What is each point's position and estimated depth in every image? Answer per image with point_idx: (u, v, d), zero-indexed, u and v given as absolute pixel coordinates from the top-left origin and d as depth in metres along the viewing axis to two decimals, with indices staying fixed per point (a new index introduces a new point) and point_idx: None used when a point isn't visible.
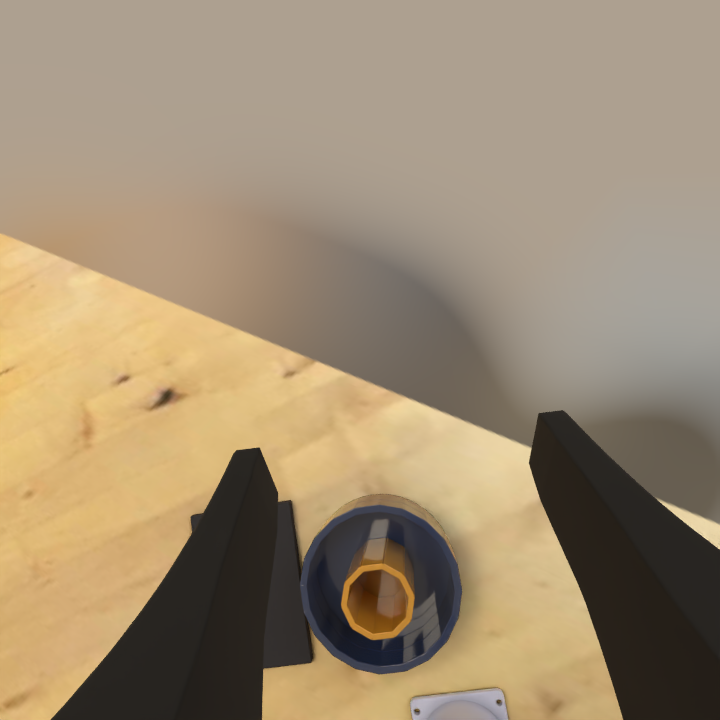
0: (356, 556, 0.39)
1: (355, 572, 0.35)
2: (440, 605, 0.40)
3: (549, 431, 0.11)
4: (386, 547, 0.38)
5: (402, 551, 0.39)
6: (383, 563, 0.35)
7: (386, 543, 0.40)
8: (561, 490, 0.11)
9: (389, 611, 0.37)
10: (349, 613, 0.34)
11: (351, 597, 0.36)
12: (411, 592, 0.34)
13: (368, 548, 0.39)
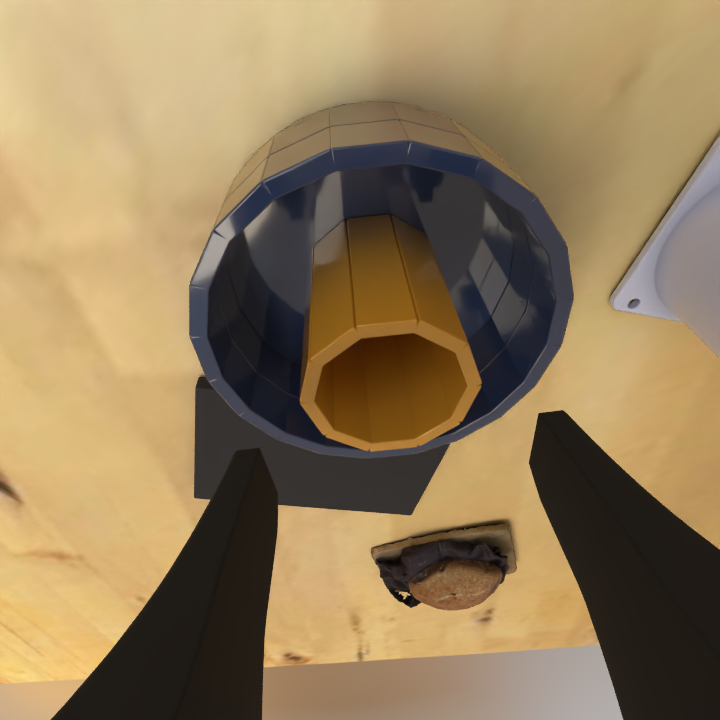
0: None
1: (309, 414, 0.14)
2: None
3: (549, 431, 0.11)
4: (313, 282, 0.16)
5: (343, 240, 0.16)
6: (310, 357, 0.13)
7: (313, 268, 0.17)
8: (561, 490, 0.11)
9: None
10: (389, 443, 0.15)
11: (373, 399, 0.17)
12: (405, 323, 0.12)
13: None
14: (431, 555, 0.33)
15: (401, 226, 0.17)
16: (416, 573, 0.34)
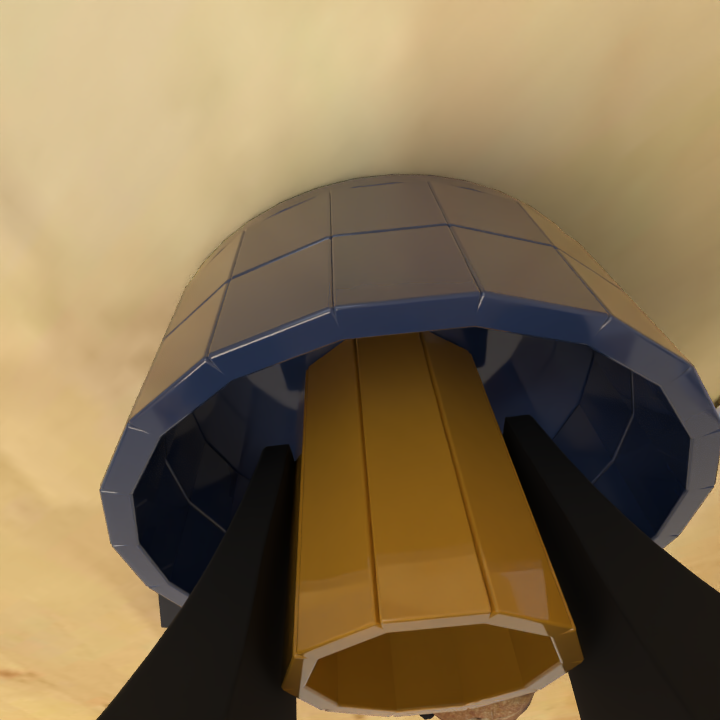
0: None
1: (298, 696, 0.09)
2: None
3: (514, 435, 0.11)
4: (306, 449, 0.10)
5: (351, 379, 0.11)
6: (297, 646, 0.07)
7: (306, 414, 0.11)
8: (525, 494, 0.11)
9: None
10: (424, 709, 0.10)
11: None
12: (469, 615, 0.07)
13: (293, 482, 0.11)
14: None
15: (436, 349, 0.12)
16: None
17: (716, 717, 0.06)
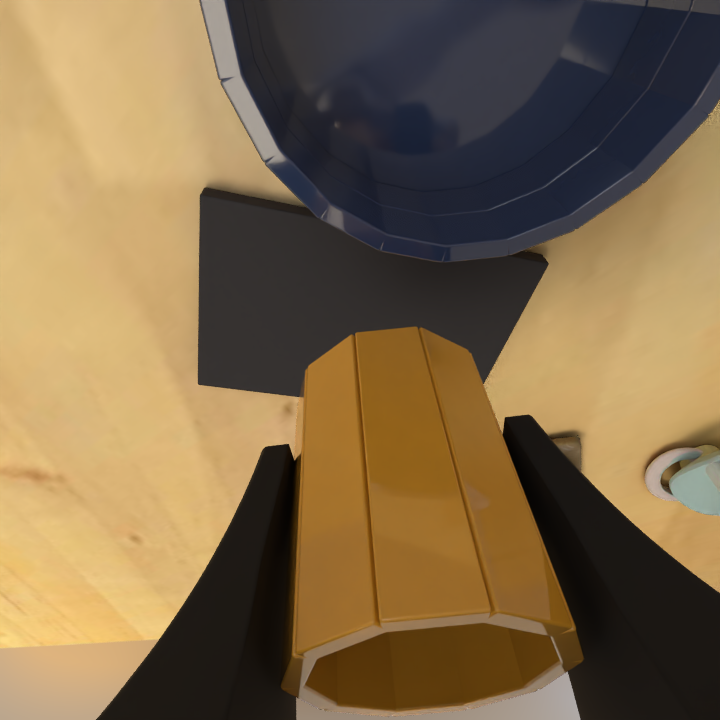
0: None
1: (297, 696, 0.09)
2: None
3: (513, 435, 0.11)
4: (305, 448, 0.10)
5: (351, 378, 0.11)
6: (296, 646, 0.07)
7: (306, 413, 0.11)
8: (525, 494, 0.11)
9: None
10: (424, 709, 0.10)
11: None
12: (469, 615, 0.07)
13: (293, 482, 0.11)
14: None
15: (436, 348, 0.12)
16: None
17: (715, 717, 0.06)
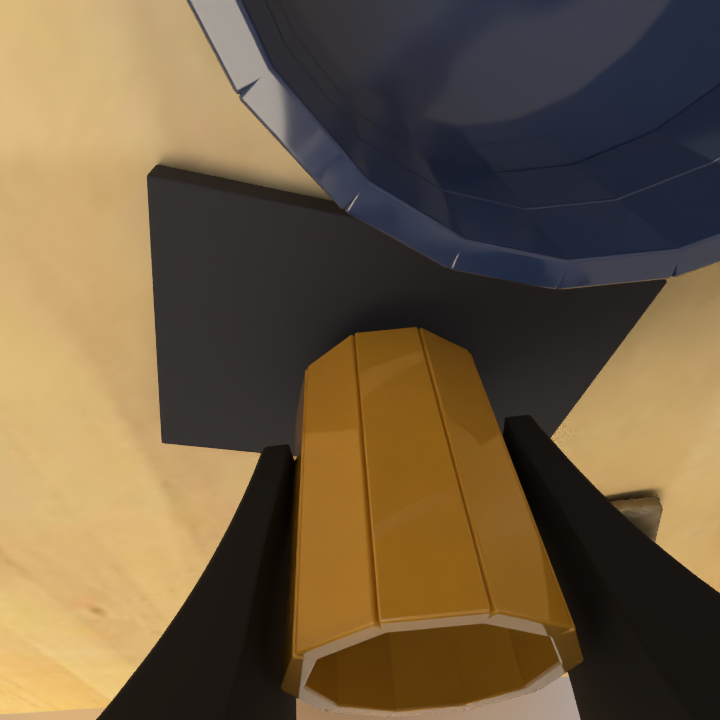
0: None
1: (297, 696, 0.09)
2: None
3: (513, 435, 0.11)
4: (305, 448, 0.10)
5: (351, 379, 0.11)
6: (296, 647, 0.07)
7: (306, 414, 0.11)
8: (525, 494, 0.11)
9: None
10: (423, 709, 0.10)
11: None
12: (469, 615, 0.07)
13: (293, 482, 0.11)
14: None
15: (436, 348, 0.12)
16: None
17: (715, 717, 0.06)
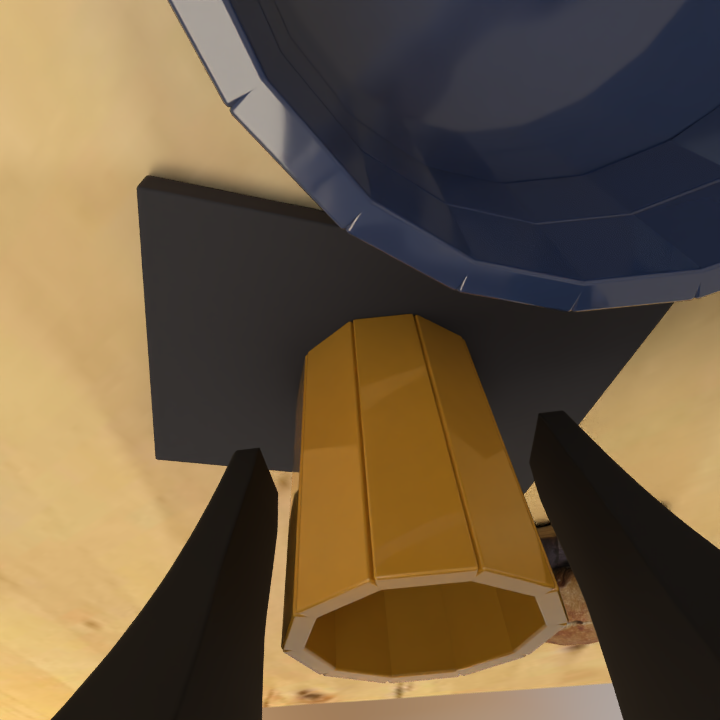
0: None
1: (298, 659, 0.09)
2: None
3: (549, 431, 0.11)
4: (305, 428, 0.11)
5: (349, 362, 0.11)
6: (296, 605, 0.08)
7: (306, 396, 0.12)
8: (561, 490, 0.11)
9: None
10: (418, 675, 0.10)
11: None
12: (458, 572, 0.07)
13: (293, 462, 0.12)
14: None
15: (431, 334, 0.12)
16: None
17: None
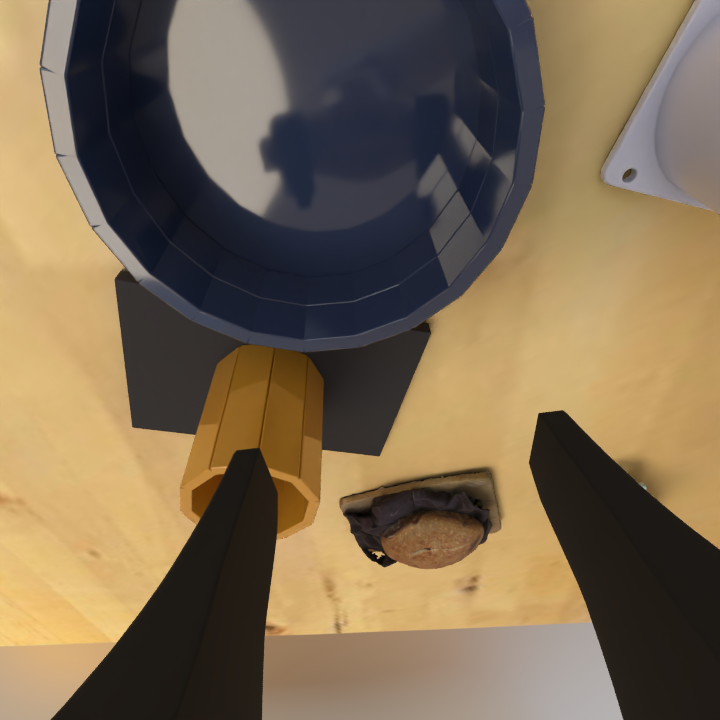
0: None
1: (190, 519, 0.19)
2: None
3: (549, 431, 0.11)
4: (205, 406, 0.20)
5: (231, 370, 0.21)
6: (181, 484, 0.17)
7: (210, 389, 0.21)
8: (561, 490, 0.11)
9: None
10: None
11: None
12: None
13: None
14: (404, 505, 0.30)
15: (282, 355, 0.21)
16: (387, 526, 0.31)
17: None
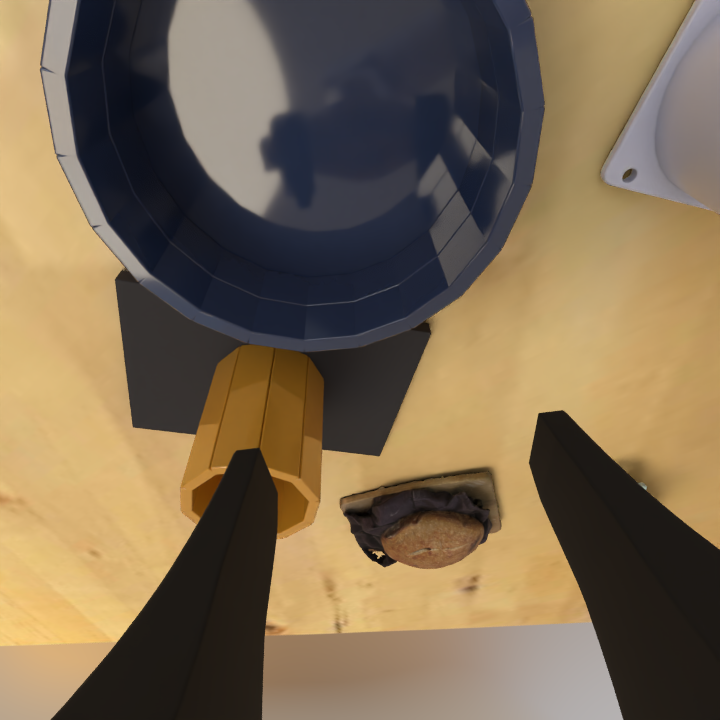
0: None
1: (191, 518, 0.19)
2: None
3: (549, 431, 0.11)
4: (205, 406, 0.20)
5: (231, 370, 0.21)
6: (182, 484, 0.17)
7: (210, 389, 0.21)
8: (561, 490, 0.11)
9: None
10: None
11: None
12: None
13: None
14: (404, 505, 0.30)
15: (282, 355, 0.21)
16: (387, 526, 0.31)
17: None
